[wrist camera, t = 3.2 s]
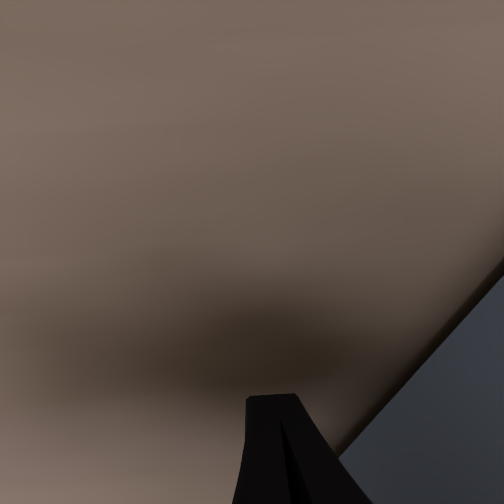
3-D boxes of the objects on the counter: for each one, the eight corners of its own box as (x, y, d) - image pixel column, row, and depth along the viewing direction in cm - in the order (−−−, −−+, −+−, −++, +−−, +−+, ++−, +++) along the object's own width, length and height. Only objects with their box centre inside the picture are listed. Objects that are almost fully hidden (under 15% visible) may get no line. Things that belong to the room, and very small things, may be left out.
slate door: (582, 229, 10) (919, 355, 5) (316, 513, 14) (373, 738, 9) (531, 190, 10) (861, 293, 5) (267, 498, 14) (300, 733, 9)
